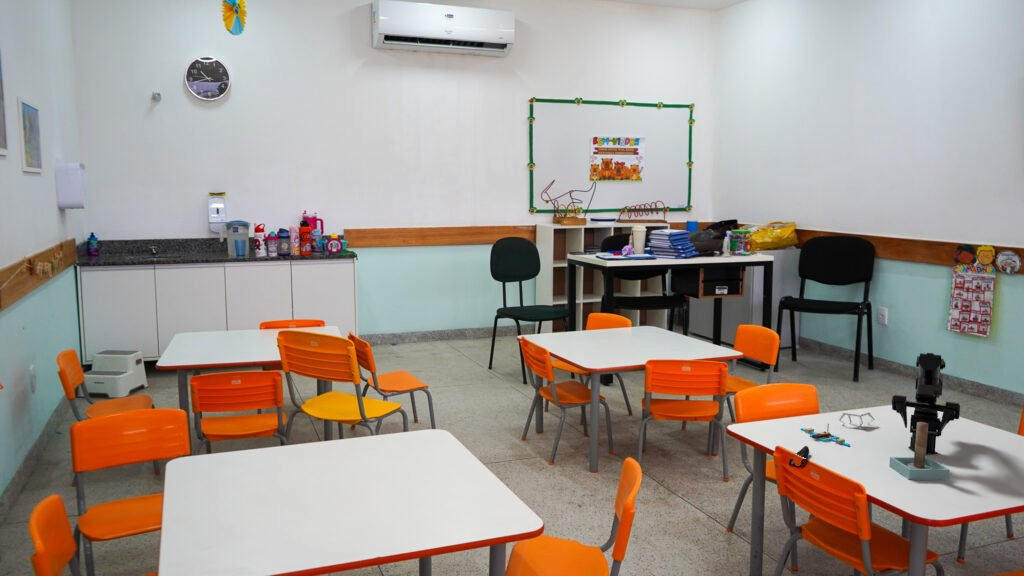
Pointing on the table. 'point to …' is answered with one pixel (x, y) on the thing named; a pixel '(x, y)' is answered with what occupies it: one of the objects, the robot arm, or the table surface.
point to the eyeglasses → (856, 413)
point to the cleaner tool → (920, 447)
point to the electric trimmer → (803, 453)
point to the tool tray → (919, 474)
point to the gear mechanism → (825, 436)
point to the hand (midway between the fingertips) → (922, 429)
